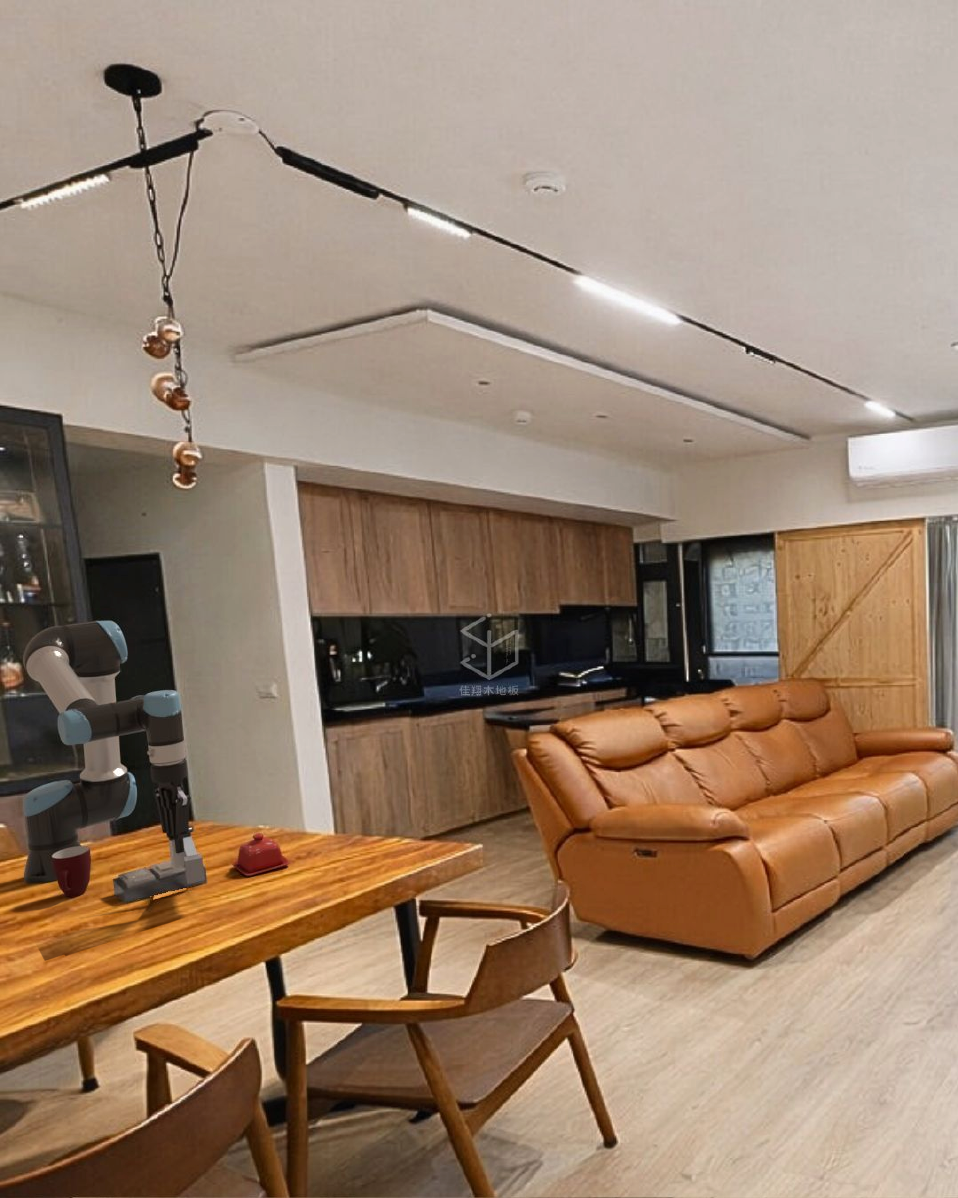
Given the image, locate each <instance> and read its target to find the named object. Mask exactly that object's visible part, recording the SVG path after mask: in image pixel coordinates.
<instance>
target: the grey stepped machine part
mask: <svg viewBox="0 0 958 1198" xmlns="http://www.w3.org/2000/svg"><path fill="white" fill-rule="evenodd" d="M194 831H195V827H194V825H190V824H189V832H188V835H186V836H184V837H183V838H186V837H192V833H193V832H194ZM203 868H204V877H205V880H203V881H199V882H195V883H190V884H187V881H186V874H185V865H184V866H181V867H178V868H175V869H174V868H172V867H171V859H170V860H165V861H163V862H159V863H155V864H151V865H149V868H146V867H142V868H141V867H140V868H137V869H134V870H130V871H127V872H123V873H120V874H117V877H116V878H114V879H112V881H113V892H114V895H115V896H116V898H118V899H119V900H120V899H121V900H122V902H123V903H124V904H125V903H126V904H129V903H128V902H130V903H133V902H132V901H134V902H136V901H135V900H138V899H142V900H145V898H146V899H149V898H148V897H150V896H154V895H158V894H162V893H166V892H168V891H175V890H179V889H183V888H187V887H188V888H191V887H190V886H192V887H195V886H194V885H196V886H199V885H198V884H200V885H203V884H202V883H204V884H207V883H208V878H207V871H206V870H207V869H206V867H205V866H204V865H203ZM188 888H187V889H188ZM150 898H151V897H150ZM121 900H120V901H121ZM138 901H139V900H138Z"/></svg>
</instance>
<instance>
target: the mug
mask: <svg viewBox="0 0 958 1198" xmlns="http://www.w3.org/2000/svg"><path fill="white" fill-rule="evenodd" d="M52 864H53V869H54V873H55V876H56V879H57V881H56V882H57V884H58V887H59V889H60V890H61V891H62V893H63V894H64V895H65V897H67V898H75V897H79V896H82V895H84V894H85V893H86V891H87V888H88V887H89V884H90V878H91V867H92V866H91V865H92V855H91V850H90V847H89V846H85V845H81V846H76V847H70V848H66V849H63V850H60V851H58V852H56V853H54V854H53V855H52Z"/></svg>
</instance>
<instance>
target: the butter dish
mask: <svg viewBox="0 0 958 1198" xmlns="http://www.w3.org/2000/svg"><path fill="white" fill-rule="evenodd" d="M289 864H291V860H289V859H288V858H287V857H285V856H284V855H283V854H282V850H281V847H280V845H279V843H278V842H277V841H276V840H274V839H272V838H270V837H265V836H264V833H262V832H257V833H255V834H253V835H252V840H249V841H246V842H244V843H243V844H241V845H240V846H239V851H238V857H237V860H236V861H234V862H232V863H231V865H232V866H233V867H234V868H235V869H236V870H238V871H239V872H240V873H241V874H242V875H245V876H246V877H251V876H255V875H259V874H262V873H266V872H269V871H272V870H276V869H279V868H282V867H285V866H288V865H289Z"/></svg>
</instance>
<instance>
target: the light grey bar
mask: <svg viewBox="0 0 958 1198" xmlns="http://www.w3.org/2000/svg"><path fill="white" fill-rule="evenodd" d="M183 840H184V850H185V857H184V865H185V874H186V881H187V884H190V883H195V882H199V881H203V880H205V877H204V868H203V866H204V861H203V855H202V853H198V852H197V849H196V846H195V843H194V840H193V838H192V836H191V837H186V838H183Z"/></svg>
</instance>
